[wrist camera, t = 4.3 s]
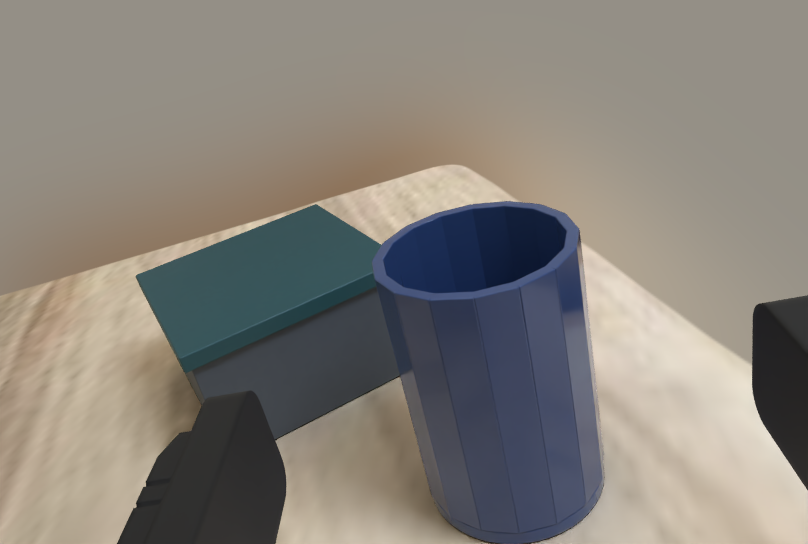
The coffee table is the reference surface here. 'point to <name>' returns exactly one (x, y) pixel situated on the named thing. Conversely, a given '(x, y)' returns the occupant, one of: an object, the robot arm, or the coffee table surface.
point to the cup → (497, 366)
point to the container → (278, 317)
